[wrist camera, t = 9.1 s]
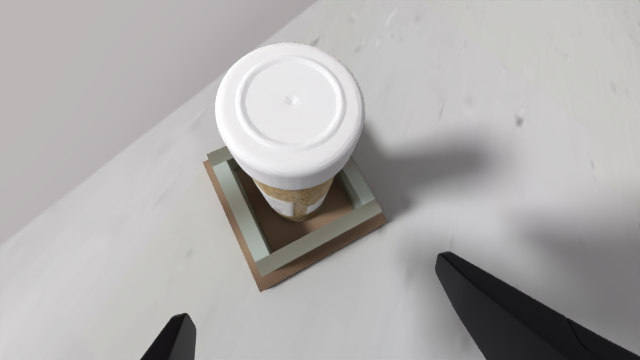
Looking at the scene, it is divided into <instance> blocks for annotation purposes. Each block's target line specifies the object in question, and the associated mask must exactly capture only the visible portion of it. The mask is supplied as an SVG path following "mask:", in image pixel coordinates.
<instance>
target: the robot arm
mask: <svg viewBox="0 0 640 360" xmlns="http://www.w3.org/2000/svg"><path fill="white" fill-rule="evenodd" d="M435 272H436V274H437V276H438V278H439V280H440V282H441V284H442V286H443V288H444V290H445V292H446V294H447V296H448V298H449V300H450V302H451V304H452V305H453V307H454V309H455V311H456V313H457V315H458V316H459V318H460V319H461V321H462V323H463V324H464V326H465V327H466V329H467V330H468V332H469V333H470V335H471V337H472V338H473V340H474V341H475V343H476V344H477V346H478V347H479V349H480V351H481V352H482V354H483V355H484V357H485V358H486V360H640V356H638V355H636V354H634V353H632V352H630V351H628V350H626V349H625V348H623V347H621V346H619V345H617V344H615V343H613V342H611V341H609V340H607V339H605V338H603V337H601V336H600V335H598V334H596V333H594V332H592V331H590V330H589V329H587V328H585V327H583V326H581V325H580V324H578V323H576V322H574V321H573V320H571V319H569V318H566V317H565V316H564V315H562V314H560V313H558V312H556V311H555V310H553V309H551V308H549V307H548V306H546V305H544V304H542V303H541V302H539V301H537V300H535V299H533V298H532V297H530V296H528V295H526V294H525V293H523V292H521V291H519V290H518V289H516V288H514V287H512V286H510V285H509V284H507V283H505V282H503V281H502V280H500V279H498V278H496V277H494V276H493V275H491V274H489V273H487V272H486V271H484V270H482V269H480V268H479V267H477V266H475V265H473V264H471V263H470V262H468V261H466V260H464V259H463V258H461V257H459V256H457V255H456V254H454V253H452V252H449V251H447V252H443V253H439V254H438V256H437V261H436V265H435ZM195 344H196V327H195V325H194V323H193V321H192V320H191V318H190V316H189V315H188V314H187V313H182V314H178V315H175V316H173V317H172V318H171V319H170V320H169V322H168V323H167V324H166V326H165V327H164V328H163V330H162V331H161V332H160V334H159V335H158V336H157V338H156V339H155V340H154V342H153V343H152V345H151V346H150V347H149V349H148V350H147V351H146V353H145V354H144V355H143V357H142V358H141V359H140V360H194V358H195Z"/></svg>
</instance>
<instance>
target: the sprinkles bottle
mask: <svg viewBox="0 0 640 360" xmlns="http://www.w3.org/2000/svg"><path fill="white" fill-rule="evenodd" d="M215 115H216V121H217V126H218V129H219V132H220V134H221V137H222V139H223V141H224V142H225V144H226V146H227V148H228V149H229V151H230V152H231V154H232V155H233V157H234V158H235V160H236V161H237V163H238V164H239V165H240V167H241V168H242V169H243V170H244V171H245V172H246V173H247V174H248V175H250V176H251V177H252V178H253V180H254V182H255V184H256V185H257V187H258V188H259V190H260V191H261V193H262V194H263V196H264V197H265V199H266V200H267V202H268V203H269V205H270V207H271V209H272V210H273V212H274V213H275V214H277V215H278V216H279V217H280V218H282V219H285V220H288V221H293V222H301V221H304V220H307V219H309V218H311V217H312V216H313V215H315V214H316V213H317V212H318V211H319V210H320V208H321V206H322V204H323V201H324V198H325V196H326V194H327V192H328V190H329V188H330V186H331V184H332V181H333V179H334V176H335V175H336V174H337V173H338V172H339V171H340V170H341V169H342V168H343V167H344V165H345V164H346V162H347V161H348V159H349V158H350V156H351V154H352V152H353V150H354V148H355V146H356V144H357V142H358V140H359V138H360V135H361V133H362V129H363V125H364V120H365V104H364V98H363V95H362V91H361V89H360V87H359V84H358V82H357V81H356V79H355V77H354V75H353V74H352V73H351V72H350V70H349V69H348V68H347V67H346V66H345V65H344V64H343V63H342V62H341V61H340V60H338V59H337V58H335V57H334V56H333V55H331V54H330V53H328V52H325V51H323V50H321V49H319V48H316V47H313V46H310V45H306V44H300V43H277V44H272V45H268V46H264V47H261V48H259V49H256V50H254V51H252V52H250V53H248V54H247V55H245V56H244V57H242V58H241V59H239V60H238V61H237V62H236V63H235V64H234V65H233V66H232V67H231V68H230V70H229V71H228V72H227V74H226V75H225V77H224V78H223V80H222V82H221V84H220V87H219V89H218V93H217V97H216V104H215Z"/></svg>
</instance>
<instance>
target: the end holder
mask: <svg viewBox="0 0 640 360" xmlns="http://www.w3.org/2000/svg"><path fill="white" fill-rule="evenodd" d="M207 156H208V159H209V160H207V161H204V162H203V164H204V166H205V168H206V171H207V173H208V175H209V177H210V180H211V182H212V184H213V186H214V189H215V191H216V193H217V195H218V198H219V200H220V202H221V204H222V207H223V209H224V211H225V214H226V216H227V218H228V220H229V223H230V225H231V227H232V229H233V232H234V234H235V236H236V238H237V241H238V243H239V245H240V247H241V250H242V252H243V254H244V256H245V259H246V261H247V263H248V266H249V268H250V270H251V272H252V275H253V277H254V279H255V281H256V284H257V286H258V288H259V290H260V292H262V291H264V290H266V289H267V288H269V287H271V286H273V285H275V284H276V283H278V282H280V281H282V280H284V279H285V278H287V277H289V276H291V275H293V274H294V273H296V272H298V271H300V270H302V269H303V268H305V267H307V266H309V265H311V264H312V263H314V262H316V261H318V260H320V259H321V258H323V257H325V256H327V255H329V254H330V253H332V252H334V251H336V250H338V249H339V248H341V247H343V246H345V245H347V244H348V243H350V242H352V241H354V240H356V239H357V238H359V237H361V236H363V235H365V234H366V233H368V232H370V231H372V230H374V229H375V228H377V227H379V226H381V225H383V224H384V223H386V222H387V220H386V218H385V217H384V215H383V213H382V209H381V207H380V206H379V204H378V202H377V201H376V199H375V197H374V195H373V194H372V192H371V190H370V188H369V187H368V185H367V183H366V181H365V180H364V178H363V176H362V174H361V173H360V171H359V169H358V167H357V166H356V164H355V162H354V160H353V159H352V157H351V156H350V158H349V159H348V161H347V162H346V164H345V165H344V167H343V168H342V169H341V170H340V171H339V172H338V173H337V174H336V175H335V176H334V179H333V181H332V184H331V186H330V188H329V190H328V192H327V194H326V196H325V198H324V201H323V204H322V206H321V208H320V210H319V211H318V212H317V213H316V214H315V215H313V216H312V217H311V218H309V219H307V220H304V221H301V222H293V221H288V220H285V219H282V218H280V217H279V216H278V215H277V214H275V213H274V212H273V210H272V209H271V207H270V205H269V203H268V202H267V200H266V199H265V197H264V196H263V194H262V193H261V191H260V190H259V188H258V187H257V185H256V184H255V182H254V180H253V178H252V177H251V176H250V175H248V174H247V173H246V172H245V171H244V170H243V169H242V168H241V167H240V165H239V164H238V163H237V161H236V160H235V158H234V157H233V155H232V154H231V152H230V151H229V149H228V148H227V146H225V147H223V148H221V149H218V150H216V151H213V152H211V153H209V154H207Z"/></svg>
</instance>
